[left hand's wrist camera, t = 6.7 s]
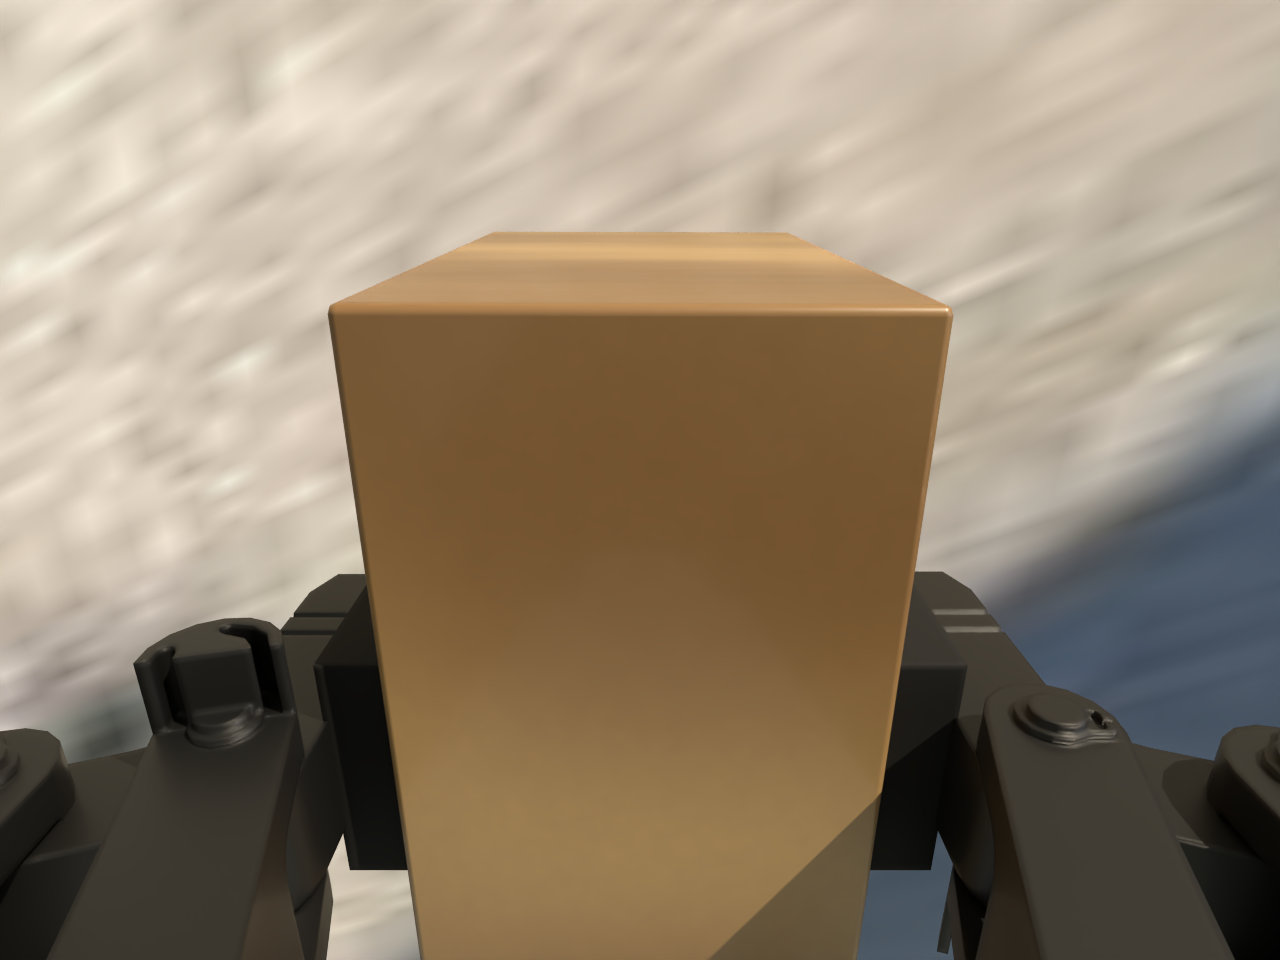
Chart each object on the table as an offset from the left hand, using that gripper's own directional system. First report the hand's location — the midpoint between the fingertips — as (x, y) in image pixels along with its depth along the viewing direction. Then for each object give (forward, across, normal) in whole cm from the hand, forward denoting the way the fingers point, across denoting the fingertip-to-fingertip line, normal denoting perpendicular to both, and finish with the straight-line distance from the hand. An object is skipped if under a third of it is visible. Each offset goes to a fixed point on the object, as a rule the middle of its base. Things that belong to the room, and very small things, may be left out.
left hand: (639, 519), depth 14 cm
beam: (+1, 0, -31) cm, 31 cm away
